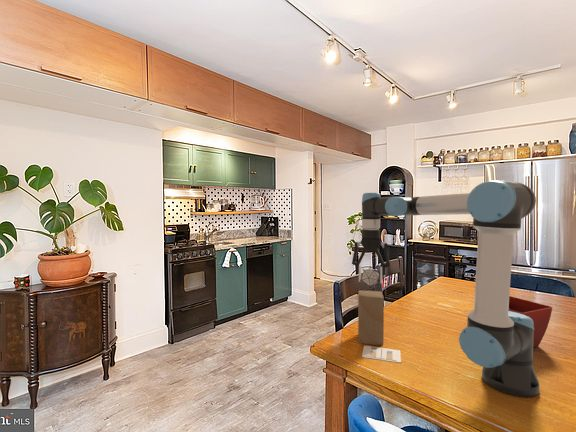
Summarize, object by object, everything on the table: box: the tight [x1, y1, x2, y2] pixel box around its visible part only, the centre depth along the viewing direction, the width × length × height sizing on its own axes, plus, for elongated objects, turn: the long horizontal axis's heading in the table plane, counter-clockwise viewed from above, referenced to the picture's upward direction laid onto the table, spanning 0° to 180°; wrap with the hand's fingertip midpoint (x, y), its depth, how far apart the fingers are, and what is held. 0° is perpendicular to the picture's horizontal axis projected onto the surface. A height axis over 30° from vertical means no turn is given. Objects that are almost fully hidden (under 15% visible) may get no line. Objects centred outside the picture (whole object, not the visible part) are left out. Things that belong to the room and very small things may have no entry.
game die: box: [360, 265, 380, 289], centre depth 133 cm, size 9×8×10 cm
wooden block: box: [357, 290, 385, 346], centre depth 134 cm, size 10×10×20 cm
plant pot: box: [508, 295, 553, 348], centre depth 131 cm, size 19×19×17 cm
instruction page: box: [361, 345, 402, 364], centre depth 121 cm, size 10×14×1 cm
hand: (370, 281), depth 134 cm, fingers closed on game die, 8 cm apart
